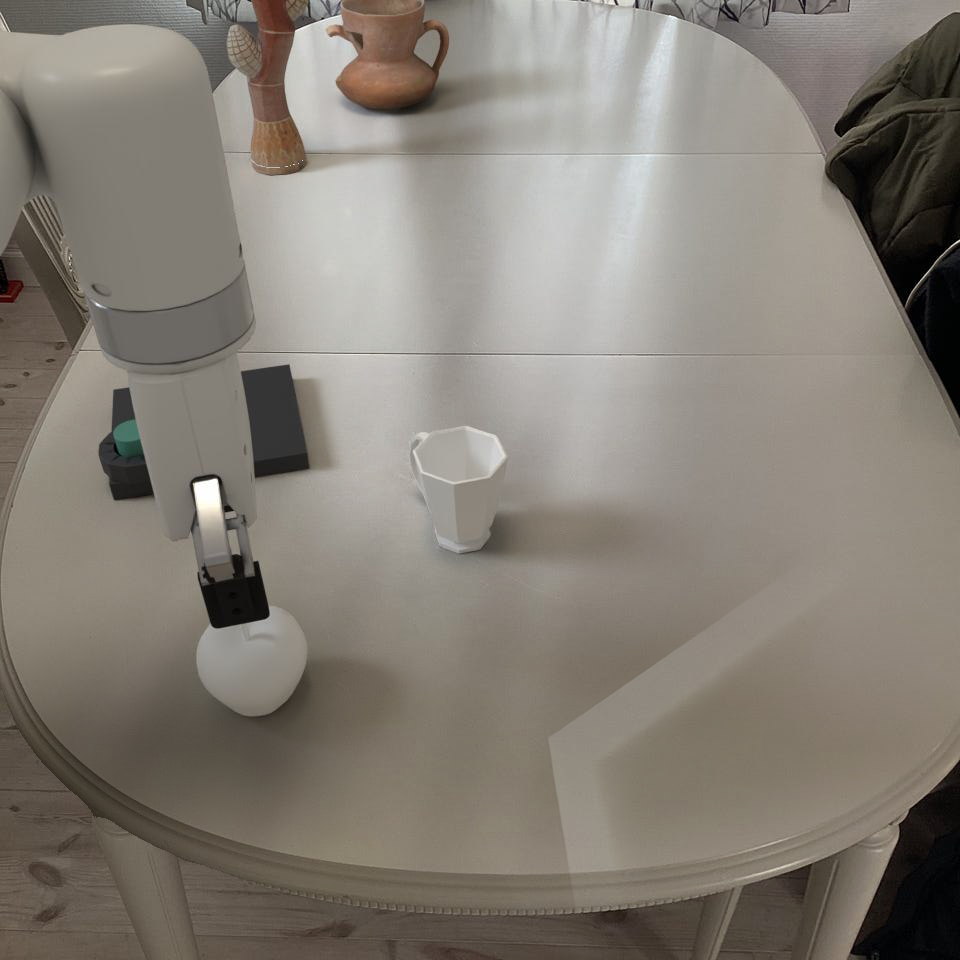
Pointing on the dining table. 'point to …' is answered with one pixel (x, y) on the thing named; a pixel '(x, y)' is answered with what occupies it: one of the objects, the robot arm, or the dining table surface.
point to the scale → (270, 430)
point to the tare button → (128, 439)
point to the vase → (270, 84)
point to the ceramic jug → (387, 52)
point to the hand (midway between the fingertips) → (235, 561)
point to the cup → (459, 483)
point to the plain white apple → (253, 662)
